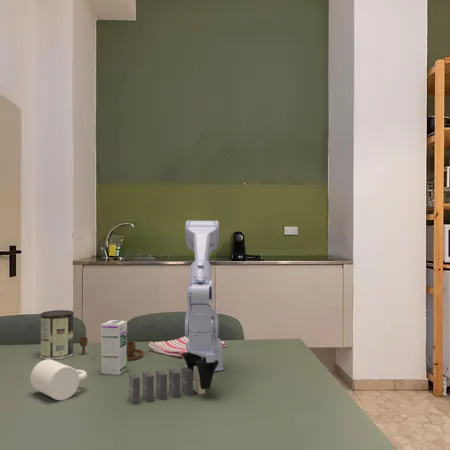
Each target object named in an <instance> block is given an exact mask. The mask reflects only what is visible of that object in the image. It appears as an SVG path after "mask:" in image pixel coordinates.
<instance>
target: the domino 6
mask: <svg viewBox="0 0 450 450" xmlns="http://www.w3.org/2000/svg"><path fill="white" fill-rule="evenodd" d="M193 391H195V392H196V393H197V394H199V395H202V394H203V395H204V394H206V389H201V386H200V377H199V371H198V368H197V366H194V372H193Z"/></svg>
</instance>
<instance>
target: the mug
mask: <svg viewBox="0 0 450 450" xmlns="http://www.w3.org/2000/svg"><path fill="white" fill-rule="evenodd" d="M87 373H88V372H86V371H85V370H83V369H75V368H74V367H72V366H69V365H66V364H64V363H61V362H60V361H56V360H51V359H43V360H41V361H40V362H38V363H37V364H36V365H35V366H34V367H33V368H32V370H31V373H30V383H31V384H30V385H31V386H32V388H33V389H35V390H36V391H38V392H40V393H42V394H44V395H46V396H48V397H50V398H52V399H54V400H56V401H65V400H68V399H69V398H71V397H72V396H73V395H74V394H75V393H76V391H77V389H78V388H79V385H80V382H81V381H83V380H85V379H86V378H87V377H88V374H87Z"/></svg>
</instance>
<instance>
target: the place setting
mask: <svg viewBox="0 0 450 450" xmlns="http://www.w3.org/2000/svg"><path fill="white" fill-rule="evenodd" d="M88 341H89V340H88V337H87V336H86V337H85V336H83V337H79V345H80V347H82V349H81V352H82V353H81V356H84V354H85V355H86V347H87V345H88ZM134 354H136V355H135V356H134ZM144 354H146V355H149V353H148V352H144V351H143V350H142V349H137V348H136V342H134V341H130V340H129V341H128V340H127V362H131V361H137V360H139V359H141V358H142V357H143V356H144ZM95 359H96V358H95V357H92V360H95Z"/></svg>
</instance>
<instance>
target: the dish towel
mask: <svg viewBox="0 0 450 450" xmlns="http://www.w3.org/2000/svg"><path fill="white" fill-rule="evenodd" d="M186 342H189V338H187V337H186V336H182V337H179V338H176V339H172V340H167V341H164V340H163V341H156V342H153V341H150V342H149V343H148V349H149V351H152V352H155V353H158V354H160V355H166V356H170V357H175V358H180V359H181V360H184V357H183V355H182V353H184V352H187V351H188V350H186ZM221 343H222V348H223V349H224V348H225V347H227V346H228V343H227V342H226V341H223V340H221Z"/></svg>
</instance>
